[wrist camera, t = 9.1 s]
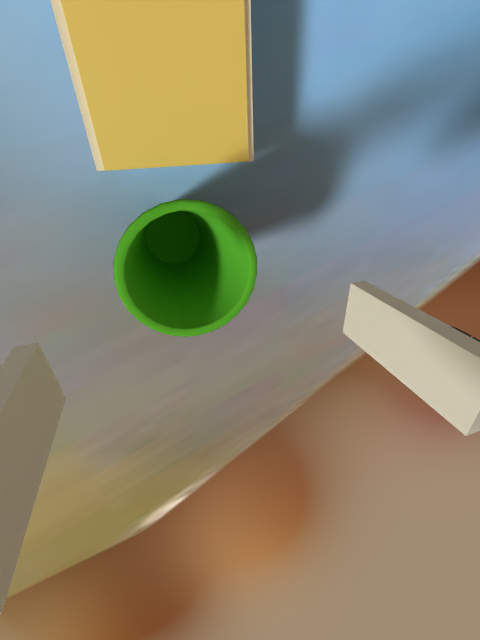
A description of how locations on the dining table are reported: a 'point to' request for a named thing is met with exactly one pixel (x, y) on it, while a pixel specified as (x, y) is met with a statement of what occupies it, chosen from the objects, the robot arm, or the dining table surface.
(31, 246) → the dining table surface
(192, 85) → the box
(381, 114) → the dining table surface
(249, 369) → the dining table surface
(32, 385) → the robot arm
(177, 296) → the cup
